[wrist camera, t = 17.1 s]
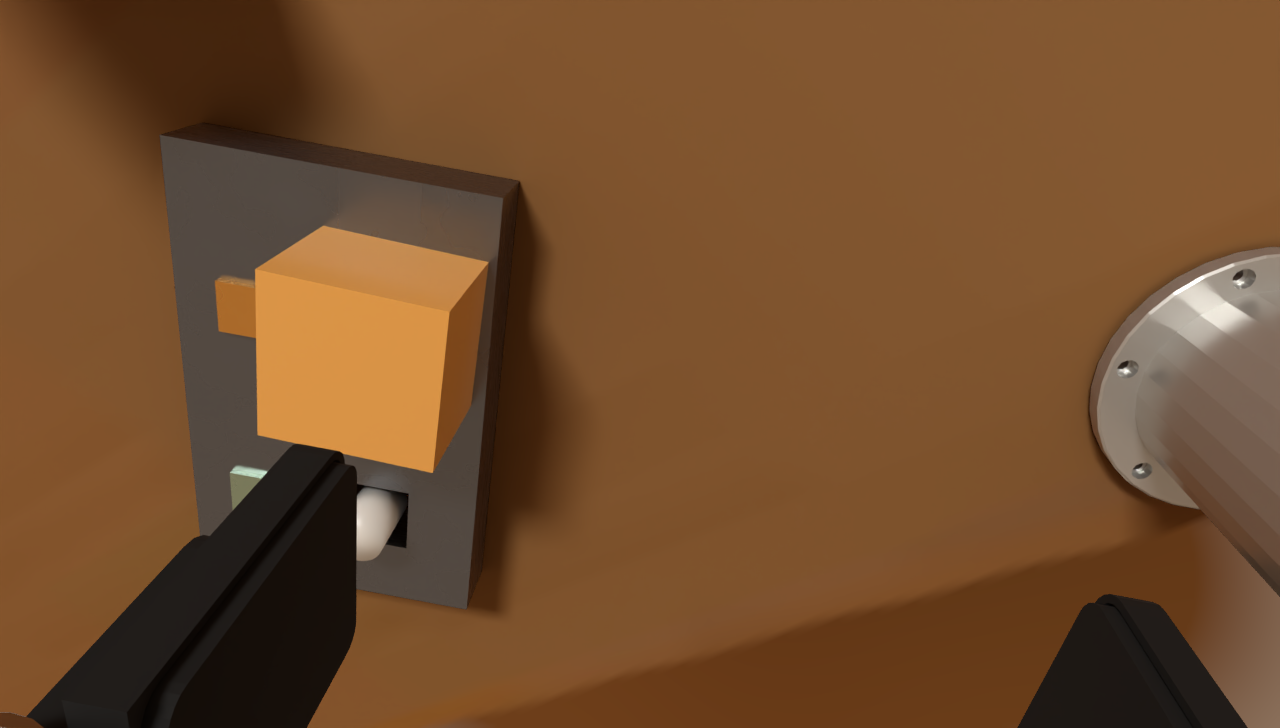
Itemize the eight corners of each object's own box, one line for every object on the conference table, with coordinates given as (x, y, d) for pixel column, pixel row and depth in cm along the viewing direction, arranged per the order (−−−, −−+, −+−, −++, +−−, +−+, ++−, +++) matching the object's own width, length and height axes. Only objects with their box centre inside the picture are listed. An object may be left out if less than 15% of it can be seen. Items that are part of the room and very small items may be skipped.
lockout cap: (488, 262, 33) (449, 311, 28) (471, 405, 36) (432, 473, 32) (323, 225, 33) (255, 269, 28) (319, 372, 36) (257, 435, 31)
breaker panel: (519, 180, 35) (501, 200, 32) (481, 571, 45) (465, 613, 42) (202, 122, 35) (154, 136, 32) (233, 525, 45) (199, 564, 42)
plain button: (408, 483, 40) (383, 525, 37) (406, 521, 41) (382, 565, 38) (361, 475, 40) (332, 515, 37) (360, 513, 41) (332, 555, 38)
